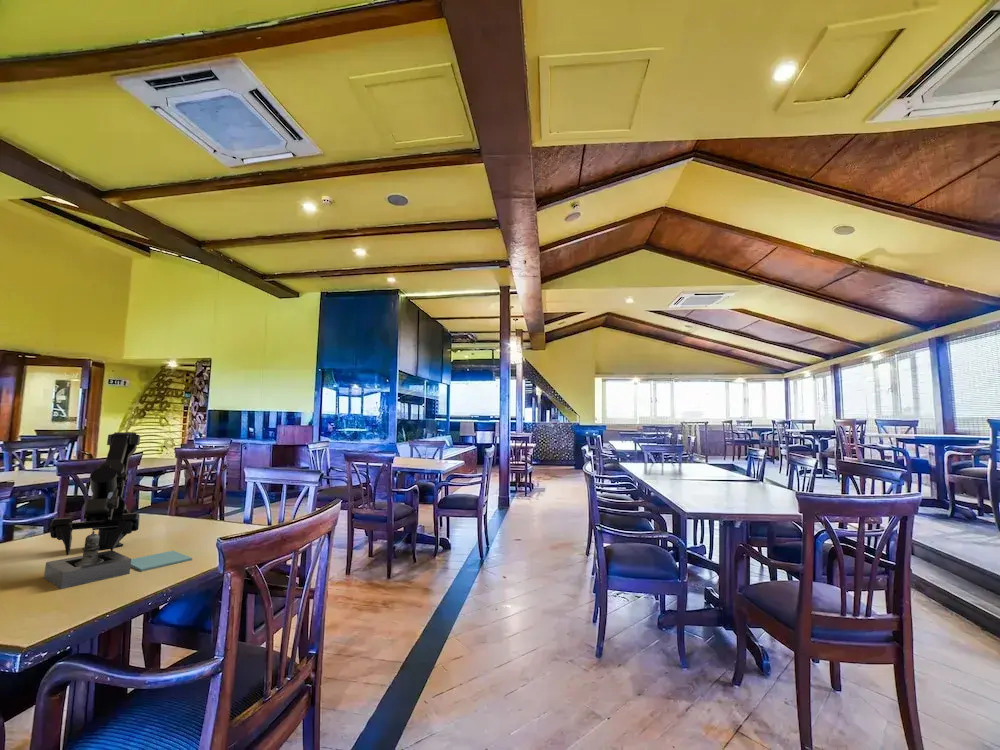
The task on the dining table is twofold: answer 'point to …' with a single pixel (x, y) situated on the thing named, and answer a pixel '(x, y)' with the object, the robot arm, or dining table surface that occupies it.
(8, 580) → the dining table surface
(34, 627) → the dining table surface
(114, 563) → the square socket
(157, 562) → the teal mat
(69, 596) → the dining table surface
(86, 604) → the dining table surface
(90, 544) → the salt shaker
